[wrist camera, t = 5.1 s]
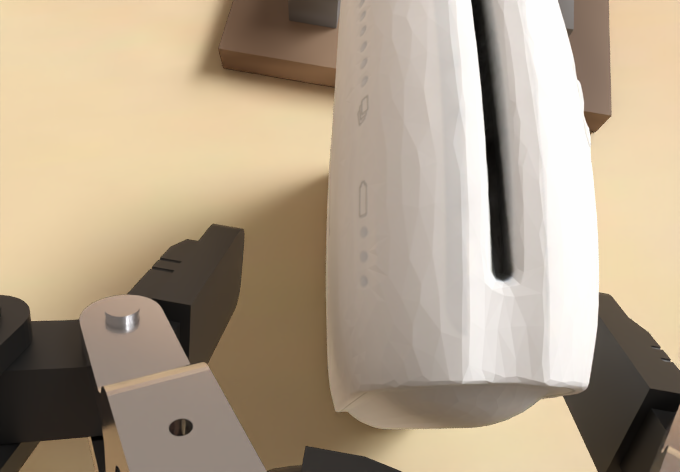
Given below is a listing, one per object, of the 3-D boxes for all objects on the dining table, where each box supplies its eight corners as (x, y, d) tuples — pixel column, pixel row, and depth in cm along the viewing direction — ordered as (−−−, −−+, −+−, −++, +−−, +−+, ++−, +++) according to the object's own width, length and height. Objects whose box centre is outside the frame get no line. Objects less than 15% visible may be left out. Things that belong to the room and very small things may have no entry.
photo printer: (326, 155, 20) (341, -199, 9) (431, 158, 21) (583, -185, 9) (321, 428, 17) (335, 441, 5) (449, 429, 17) (740, 443, 5)
